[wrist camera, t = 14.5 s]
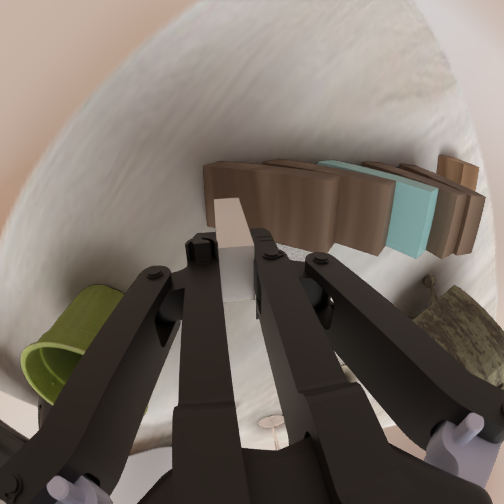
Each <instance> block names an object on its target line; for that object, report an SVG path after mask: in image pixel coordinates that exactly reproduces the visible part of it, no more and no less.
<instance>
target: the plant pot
mask: <svg viewBox="0 0 504 504" xmlns="http://www.w3.org/2000/svg"><path fill="white" fill-rule="evenodd" d="M123 296H124V294H123V293H122V292H120V291H118V290H114V289H111V288H109V287H107V286H105V285H92V286H89V287H87V288H85V289H84V290H82V291H81V292H80V294H79V295H78V296H77V297H76V298H75V299H74V300H73V302H72V303H71V304H70V305H69V306H68V308H67V309H66V310H65V311H64V312H63V314H62V315H61V316H60V317H59V318H58V320H57V321H56V322H55V323H54V325H53V326H52V327H51V328H50V330H49V331H48V332H46V333H45V334H43V335H42V337H41V338H40V339H39V340H38V342H36V343H33V344H30V345H29V346H27V347H26V348H25V349H24V350H23V352H22V354H21V368H22V371H23V373H24V376H25V377H26V379H27V381H28V382H29V384H30V385H31V386H32V388H33V389H34V390H35V391H36V392H37V393H38V394H39V395H40V396H41V397H42V398H44V399H45V400H46V401H47V402H48V403H50V404H51V405H53V404H54V402H55V401H56V399H57V397H58V395H59V394H60V392H61V390H62V389H63V387H64V385H65V384H66V382H67V380H68V379H69V377H70V375H71V374H72V372H73V370H74V369H75V367H76V366H77V364H78V362H79V361H80V359H81V358H82V356H83V355H84V353H85V351H86V350H87V348H88V347H89V345H90V344H91V342H92V341H93V339H94V338H95V336H96V335H97V333H98V332H99V330H100V329H101V327H102V326H103V324H104V323H105V321H106V320H107V319H108V317H109V316H110V314H111V313H112V311H113V310H114V309H115V307H116V306H117V304H118V303H119V302H120V300H121V299H122V297H123ZM147 408H148V405H147ZM147 408H146V410H145V413H144V415H145V414H146V412H147Z"/></svg>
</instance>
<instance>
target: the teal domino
mask: <svg viewBox="0 0 504 504" xmlns="http://www.w3.org/2000/svg"><path fill="white" fill-rule="evenodd" d="M317 165H322V166H328V167H334V168H339V169H344V170H350V171H355V172H359V173H364V174H369V175H373V176H378V177H382V178H387V179H391V180H395V181H396V188H395V195H394V201H393V208H392V214H391V220H390V225H389V231H388V236H387V241H386V245H385V246H388V247H390V248H392V249H395V250H397V251H399V252H402V253H404V254H406V255H409V256H411V257H413V258H415V259H417V258H418V257H419V256H420V255H421V254H422V253H423V252H424V251H425V249H426V245H427V241H428V237H429V233H430V229H431V225H432V220H433V215H434V210H435V205H436V200H437V195H438V189H439V188H436V187H433V186H430V185H427V184H424V183H421V182H417V181H414V180H411V179H407V178H404V177H400V176H397V175H393V174H389V173H386V172H382V171H378V170H374V169H370V168H366V167H362V166H358V165H353V164H349V163H345V162H340V161H335V160H327V161H319V162H317Z"/></svg>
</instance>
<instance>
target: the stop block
mask: <svg viewBox="0 0 504 504" xmlns="http://www.w3.org/2000/svg"><path fill="white" fill-rule="evenodd" d="M478 172H479V167H477V166H475V165H472V164H470V163H467V162H464V161H462V160H459V159H456V158H451V157H446V156H441V155H439V160H438V167H437V174H438V175H440V176H442V177H445V178H447V179H449V180H451V181H454V182H456V183H458V184H460V185H462V186H464V187H467V188H469V189H471V190H473V191H475V190H476V185H477V179H478Z"/></svg>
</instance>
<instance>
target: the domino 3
mask: <svg viewBox="0 0 504 504" xmlns="http://www.w3.org/2000/svg"><path fill="white" fill-rule="evenodd" d="M362 167H366V168H370V169H374V170H378V171H382V172H386V173H389V174H393V175H397V176H400V177H404V178H407V179H411V180H414V181H417V182H421V183H424V184H427V185H430V186H433V187H436V188H439V189H438V195H437V200H436V205H435V210H434V215H433V220H432V225H431V229H430V233H429V237H428V241H427V245H426V249H425V250H427V251H429V252H430V253H432V254H434V255H435V256H437V257H439V258H441V259H443V258H445V257H447V256H449V255H451V254H453V252H454V249H455V246H456V242H457V238H458V235H459V231H460V227H461V223H462V219H463V214H464V210H465V205H466V201H467V196H468V194H467V193H464V192H462V191H459V190H457V189H454V188H452V187H449V186H447V185H444V184H442V183H439V182H436V181H434V180H431V179H428V178H425V177H423V176H420V175H417V174H414V173H411V172H408V171H405V170H402V169H399V168H396V167H392V166H389V165H386V164H383V163H379V162H362Z"/></svg>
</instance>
